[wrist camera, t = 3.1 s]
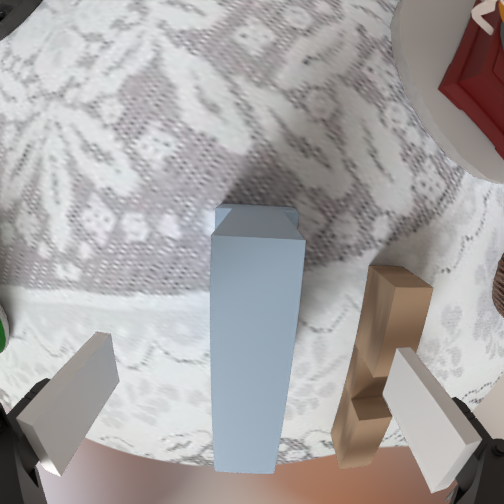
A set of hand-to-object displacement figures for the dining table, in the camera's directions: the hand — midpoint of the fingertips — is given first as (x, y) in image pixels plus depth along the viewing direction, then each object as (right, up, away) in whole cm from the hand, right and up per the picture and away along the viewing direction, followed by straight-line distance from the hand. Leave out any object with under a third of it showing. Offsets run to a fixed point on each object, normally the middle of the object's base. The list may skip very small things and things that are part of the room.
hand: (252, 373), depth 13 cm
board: (+10, -5, +12) cm, 16 cm away
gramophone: (+21, +21, +6) cm, 31 cm away
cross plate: (0, +3, +10) cm, 11 cm away
